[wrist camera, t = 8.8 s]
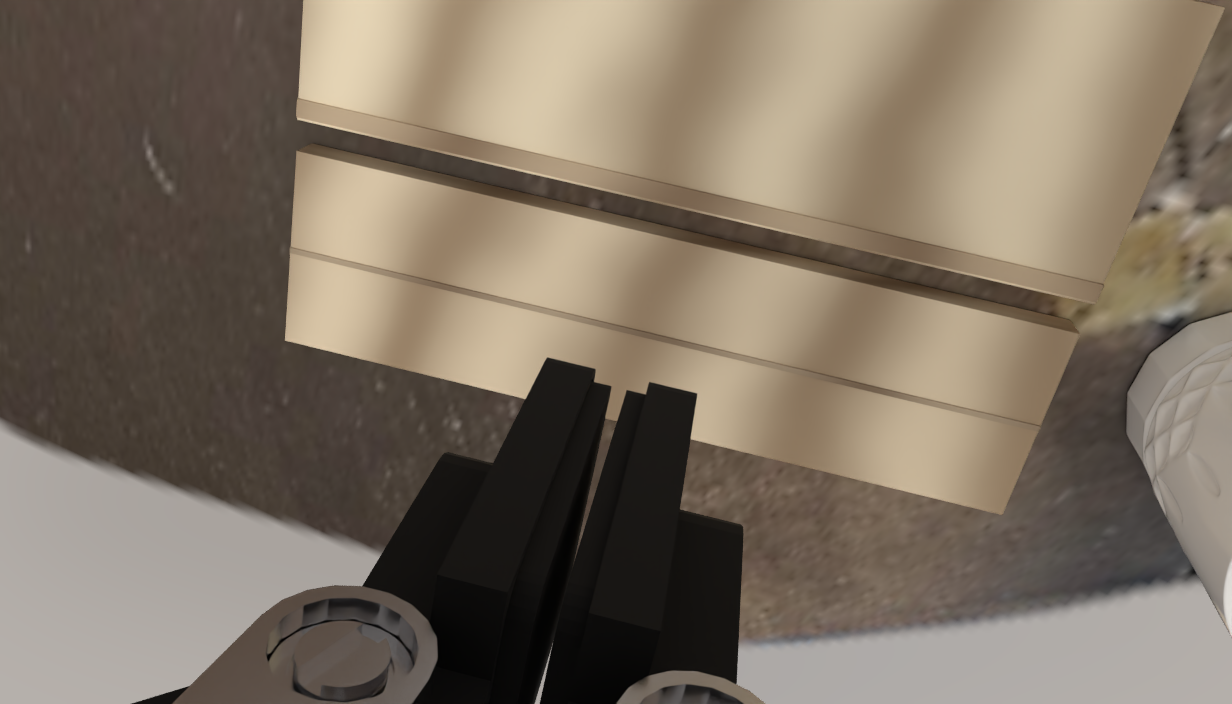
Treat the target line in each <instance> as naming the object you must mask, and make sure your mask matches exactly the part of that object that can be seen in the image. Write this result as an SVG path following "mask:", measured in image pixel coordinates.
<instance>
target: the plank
mask: <svg viewBox="0 0 1232 704" xmlns="http://www.w3.org/2000/svg"><path fill="white" fill-rule="evenodd" d="M1224 9H1225V7H1221V6H1217V5H1214V4H1210V3H1206V2H1201V1H1197V0H304V1H303V20H302V39H301V59H300V78H299V98H298V99H297V111H296V117H297V120H302V121H306V122H310V123H315V124H319V125H323V126H327V127H332V128H336V129H340V130H345V131H349V132H353V133H358V134H362V135H366V136H371V137H375V138H379V139H383V140H388V141H392V142H396V143H401V144H405V145H409V146H414V147H418V148H422V149H427V150H431V151H435V152H439V153H444V154H448V155H452V156H457V157H461V158H465V159H470V160H474V161H478V162H483V163H487V164H491V165H496V166H500V167H504V168H508V169H513V170H517V171H521V172H526V173H530V174H534V175H539V176H543V177H547V178H552V179H556V180H560V181H564V182H569V183H573V184H577V185H582V186H586V187H590V188H595V189H599V190H603V191H608V192H612V193H616V194H620V195H625V196H629V197H633V198H638V199H642V200H646V201H651V202H655V203H659V204H664V205H668V206H672V207H676V208H681V209H685V210H689V211H694V212H698V213H702V214H707V215H711V216H715V217H720V218H724V219H728V220H733V221H737V222H741V223H745V224H750V225H754V226H758V227H763V228H767V229H771V230H776V231H780V232H784V233H789V234H793V235H797V236H801V237H806V238H810V239H814V240H819V241H823V242H827V243H832V244H836V245H840V246H845V247H849V248H853V249H857V250H862V251H866V252H870V253H875V254H879V255H883V256H888V257H892V258H896V259H901V260H905V261H909V262H914V263H918V264H922V265H926V266H931V267H935V268H939V269H944V270H948V271H952V272H957V273H961V274H965V275H970V276H974V277H978V278H982V279H987V280H991V281H995V282H1000V283H1004V284H1008V285H1013V286H1017V287H1021V288H1026V289H1030V290H1034V291H1038V292H1043V293H1047V294H1051V295H1056V296H1060V297H1064V298H1069V299H1073V300H1077V301H1082V302H1086V303H1090V304H1095V303H1097V300H1098V298H1099V296H1100V293H1101V291H1102V289H1103V287H1104V284H1103V283H1104V281H1105V279H1106V277H1107V274H1108V272H1109V270H1110V268H1111V265H1112V263H1113V261H1114V258H1115V256H1116V254H1117V252H1118V249H1119V247H1120V245H1121V243H1122V240H1123V238H1124V236H1125V234H1126V231H1127V229H1128V227H1129V225H1130V222H1131V220H1132V218H1133V215H1134V213H1135V211H1136V209H1137V206H1138V204H1139V202H1140V200H1141V197H1142V195H1143V193H1144V191H1145V188H1146V186H1147V184H1148V181H1149V179H1150V177H1151V175H1152V172H1153V170H1154V168H1155V166H1156V163H1157V161H1158V159H1159V157H1160V154H1161V152H1162V150H1163V147H1164V145H1165V143H1166V141H1167V138H1168V136H1169V134H1170V132H1171V129H1172V127H1173V125H1174V123H1175V120H1176V118H1177V116H1178V113H1179V111H1180V109H1181V107H1182V104H1183V102H1184V100H1185V98H1186V95H1187V93H1188V91H1189V89H1190V86H1191V84H1192V82H1193V79H1194V77H1195V75H1196V73H1197V70H1198V68H1199V66H1200V64H1201V61H1202V59H1203V57H1204V55H1205V52H1206V50H1207V48H1208V45H1209V43H1210V41H1211V39H1212V36H1213V34H1214V32H1215V30H1216V27H1217V25H1218V23H1219V21H1220V18H1221V16H1222V14H1223V11H1224Z"/></svg>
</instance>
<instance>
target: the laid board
mask: <svg viewBox="0 0 1232 704" xmlns="http://www.w3.org/2000/svg"><path fill="white" fill-rule="evenodd" d="M1079 335H1080V333H1079V332H1078V330H1077V329H1076V328H1075V326H1074V325H1073V324H1072V322H1071V321H1070V320H1067V319H1063V318H1059V317H1055V316H1050V315H1046V314H1042V313H1037V312H1033V311H1029V310H1024V309H1020V308H1016V307H1012V306H1007V305H1003V304H999V303H994V302H990V301H986V300H982V299H977V298H973V297H969V296H964V295H960V294H956V293H952V292H947V291H943V290H939V289H934V288H930V287H926V286H922V285H917V284H913V283H909V282H904V281H900V280H896V279H891V278H887V277H883V276H879V275H874V274H870V273H866V272H861V271H857V270H853V269H849V268H844V267H840V266H836V265H831V264H827V263H823V262H819V261H814V260H810V259H806V258H801V257H797V256H793V255H789V254H784V253H780V252H776V251H771V250H767V249H763V248H759V247H754V246H750V245H746V244H741V243H737V242H733V241H728V240H724V239H720V238H716V237H711V236H707V235H703V234H698V233H694V232H690V231H686V230H681V229H677V228H673V227H668V226H664V225H660V224H656V223H651V222H647V221H643V220H638V219H634V218H630V217H626V216H621V215H617V214H613V213H608V212H604V211H600V210H595V209H591V208H587V207H583V206H578V205H574V204H570V203H565V202H561V201H557V200H553V199H548V198H544V197H540V196H535V195H531V194H527V193H523V192H518V191H514V190H510V189H505V188H501V187H497V186H493V185H488V184H484V183H480V182H475V181H471V180H467V179H462V178H458V177H454V176H450V175H445V174H441V173H437V172H432V171H428V170H424V169H420V168H415V167H411V166H407V165H402V164H398V163H394V162H390V161H385V160H381V159H377V158H372V157H368V156H364V155H360V154H355V153H351V152H347V151H342V150H338V149H334V148H329V147H325V146H321V145H317V144H310V145H308V146H306V147H304V148H302V149H300V150H298V151H297V155H296V171H295V187H294V204H293V220H292V236H291V247H290V269H289V285H288V301H287V318H286V334H285V341H289V342H294V343H298V344H302V345H306V346H310V347H314V348H318V349H322V350H326V351H331V352H335V353H339V354H343V355H347V356H351V357H355V358H359V359H363V360H368V361H372V362H376V363H380V364H384V365H388V366H392V367H396V368H400V369H405V370H409V371H413V372H417V373H421V374H425V375H429V376H433V377H437V378H442V379H446V380H450V381H454V382H458V383H462V384H466V385H470V386H474V387H478V388H483V389H487V390H491V391H495V392H499V393H503V394H507V395H511V396H515V397H520V398H524V399H526V397H527V395H528V393H529V391H530V389H531V387H532V385H533V384H534V382H535V380H536V378H537V376H538V374H539V372H540V370H541V368H542V366H543V364H544V362H545V360H546V358H547V357H548V358H552V359H557V360H561V361H565V362H569V363H573V364H577V365H582V366H586V367H590V368H594V369H596V373H595V380H594V382H596V383H600V384H605V385H609V386H611V393H610V398H609V403H608V407H607V412H606V417H605V418H606V419H610V420H614V421H617V420H618V417H619V414H620V411H621V407H622V404H623V401H624V397H625V394H626V391H627V390H629V391H634V392H638V393H642V394H646V392H647V388H648V384H649V382H652V383H656V384H660V385H665V386H669V387H673V388H677V389H681V390H685V391H689V392H694V393H697V400H696V406H695V413H694V419H693V426H692V432H691V439H692V440H696V441H700V442H705V443H709V444H713V445H717V446H721V447H725V448H729V449H733V450H737V451H742V452H746V453H750V454H754V455H758V456H762V457H766V458H770V459H774V460H779V461H783V462H787V463H791V464H795V465H799V466H803V467H807V468H811V469H816V470H820V471H824V472H828V473H832V474H836V475H840V476H844V477H848V478H853V479H857V480H861V481H865V482H869V483H873V484H877V485H881V486H885V487H889V488H894V489H898V490H902V491H906V492H910V493H914V494H918V495H922V496H926V497H931V498H935V499H939V500H943V501H947V502H951V503H955V504H959V505H963V506H968V507H972V508H976V509H980V510H984V511H988V512H992V513H996V514H1000V515H1003V512H1004V510H1005V508H1006V505H1007V503H1008V501H1009V498H1010V496H1011V494H1012V491H1013V489H1014V487H1015V484H1016V482H1017V480H1018V477H1019V475H1020V473H1021V470H1022V468H1023V466H1024V463H1025V461H1026V459H1027V456H1028V454H1029V452H1030V449H1031V447H1032V445H1033V442H1034V440H1035V438H1036V435H1037V433H1038V432H1039V431H1040V428H1041V424H1042V421H1043V419H1044V417H1045V415H1046V412H1047V410H1048V408H1049V405H1050V403H1051V401H1052V398H1053V396H1054V394H1055V391H1056V389H1057V387H1058V384H1059V382H1060V380H1061V377H1062V375H1063V373H1064V370H1065V368H1066V366H1067V363H1068V361H1069V359H1070V356H1071V354H1072V352H1073V349H1074V347H1075V345H1076V342H1077V340H1078V338H1079Z"/></svg>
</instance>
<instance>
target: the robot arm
mask: <svg viewBox="0 0 1232 704" xmlns="http://www.w3.org/2000/svg"><path fill="white" fill-rule="evenodd" d="M595 373H596V369H594V368H590V367H586V366H582V365H577V364H573V363H569V362H565V361H561V360H557V359H552V358H548V357H547V358H546V360H545V362H544V364H543V366H542V368H541V370H540V372H539V374H538V376H537V378H536V380H535V382H534V384H533V385H532V387H531V389H530V391H529V393H528V395H527V397H526V399H525V401H524V403H523V405H522V407H521V409H520V411H519V413H518V415H517V417H516V419H515V421H514V423H513V425H512V427H511V429H510V431H509V433H508V435H507V437H506V439H505V441H504V443H503V445H502V447H501V449H500V451H499V453H498V455H497V457H496V459H495V461H494V463H489V462H485V461H481V460H477V459H473V458H469V457H465V456H461V455H457V454H453V453H449V452H447V453H444V454H443V455H442V457H441V458H440V459H439V461H438V462H437V464H436V466H435V467H434V469H433V470H432V472H431V474H430V475H429V477H428V479H427V480H426V482H425V484H424V485H423V487H422V489H421V490H420V492H419V494H418V495H417V497H416V499H415V500H414V502H413V503H412V505H411V507H410V508H409V510H408V512H407V513H406V515H405V517H404V518H403V520H402V522H401V523H400V525H399V527H398V528H397V530H396V531H395V533H394V535H393V536H392V538H391V540H390V541H389V543H388V545H387V546H386V548H385V550H384V551H383V553H382V555H381V556H380V558H379V560H378V561H377V563H376V564H375V566H374V568H373V569H372V571H371V573H370V575H369V576H368V578H367V579H366V581H365V583H364V584H363V586H362V587H361V586H336V585H335V586H328V587H322V588H316V589H311V590H306V591H304V592H301V593H299V594H296V595H294V596H291V597H288V598H286V599H283V600H281V601H280V602H279V603H277V604H276V605H275V606H273V607H272V608H270V609H269V610H268V611H266V612H265V613H264V614H262V615H261V616H260V617H259V618H258V619H257V620H256V621H255V622H254V623H253V624H252V625H251V626H250V627H249V628H248V629H247V630H246V631H245V632H244V633H243V634H242V635H241V636H240V637H239V638H238V639H237V640H236V641H235V642H234V643H233V644H232V645H231V646H230V647H229V648H228V649H227V650H226V651H225V652H224V653H223V654H222V655H221V656H220V657H219V658H218V659H217V660H216V661H215V662H214V663H213V664H212V665H211V666H210V667H209V668H208V669H207V670H205V672H203V673H202V674H201V675H200V676H199V677H198V678H197V679H196V680H195V682H193V684H191V685H190V686H188V687H185V688H182V689H179V690H175V691H172V692H169V693H165V694H162V695H159V696H155V697H153V698H149V699H146V700H142V701H139V702H136V703H132V704H534V703H535V700H536V697H537V694H538V690H539V687H540V684H541V680H542V677H543V674H544V670H545V667H546V663H547V660H548V657H549V654H550V650H551V647H552V650H551V654H550V660H549V664H548V668H547V673H546V678H545V682H544V687H543V692H542V696H541V701H540V704H765V703H764V702H763V701H761V700H760V699H759V698H757V697H756V696H755V695H754V694H753V693H751V692H750V691H748V690H746V689H744V688H742V687H740V686H738V685H736V683H737V662H738V640H739V618H740V597H741V575H742V553H743V526H742V525H740V524H736V523H732V522H728V521H724V520H720V519H716V518H712V517H708V516H704V515H700V514H696V513H692V512H688V511H684V510H680V504H681V497H682V491H683V484H684V478H685V471H686V465H687V458H688V452H689V445H690V439H691V432H692V426H693V419H694V413H695V406H696V400H697V393H694V392H689V391H685V390H681V389H677V388H673V387H669V386H665V385H660V384H656V383H652V382H649V384H648V388H647V392H646V394H642V393H638V392H634V391H629V390H627V391H626V394H625V397H624V401H623V404H622V407H621V411H620V414H619V417H618V420H617V424H616V427H615V430H614V434H613V437H612V440H611V443H610V447H609V450H608V453H607V457H606V460H605V463H604V467H603V470H602V473H601V476H600V480H599V483H598V486H597V490H596V493H595V496H594V500H593V503H592V506H591V509H590V513H589V516H588V519H587V523H586V526H585V529H584V532H583V536H582V539H581V542H580V546H579V549H578V552H577V556H576V559H575V554H576V550H577V545H578V540H579V536H580V531H581V527H582V522H583V518H584V513H585V508H586V504H587V499H588V495H589V490H590V485H591V481H592V476H593V472H594V467H595V462H596V458H597V453H598V449H599V444H600V440H601V435H602V430H603V426H604V421H605V417H606V412H607V407H608V403H609V398H610V393H611V386H609V385H605V384H600V383H596V382H594V380H595ZM574 559H575V562H574ZM573 563H574V565H573ZM572 568H573V569H572ZM553 640H554V641H553ZM552 644H553V645H552Z"/></svg>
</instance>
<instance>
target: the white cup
mask: <svg viewBox="0 0 1232 704" xmlns="http://www.w3.org/2000/svg"><path fill="white" fill-rule="evenodd" d="M1126 434H1127V436H1128V438H1129V440H1130V441H1131V443H1132V445H1133V446H1134V448H1135V450H1136V452H1137V453H1138V455H1139V457H1140V458H1141V460H1142V462H1143V464H1144V466H1145V468H1146V470H1147V473H1148V475H1149V477H1150V480H1151V484H1152V489H1153V492H1154V494H1155V496H1156V497H1157V499H1158V501H1159V503H1160V505H1161V508H1162V510H1163V512H1164V514H1165V516H1166V518H1167V520H1168V522H1169V523H1170V525H1171V526H1172V528H1173V531H1174V533H1175V535H1176V537H1177V540H1178V542H1179V544H1180V546H1181V548H1182V549H1183V551H1184V553H1185V554H1186V556H1187V557H1188V559H1189V561H1190V563H1191V564H1192V566H1193V568H1194V570H1195V571H1196V573H1197V575H1198V577H1199V579H1200V581H1201V582H1202V584H1203V586H1204V588H1205V590H1206V591H1207V593H1208V595H1209V597H1210V599H1211V601H1212V603H1213V605H1214V606H1215V608H1216V610H1217V612H1218V614H1219V615H1220V617H1221V619H1222V621H1223V623H1224V625H1225V626H1226V628H1227V630H1228V632H1229V634H1230V635H1231V637H1232V312H1229V313H1226V314H1222V315H1219V316H1215V317H1212V318H1208V319H1205V320H1201V321H1198V322H1194V323H1191V324H1189V325H1188V326H1186V327H1185V328H1184V329H1182V330H1181V331H1180V332H1178V333H1177V334H1176V335H1174V336H1173V337H1171V338H1170V339H1169V340H1167V341H1166V342H1165V343H1163V344H1162V345H1161V346H1159V347H1158V348H1157V349H1155V350H1154V351H1153V352H1151V353H1150V354H1149V356H1148V357H1147V359H1146V361H1145V363H1144V364H1143V366H1142V368H1141V370H1140V371H1139V373H1138V375H1137V377H1136V378H1135V380H1134V382H1133V384H1132V385H1131V387H1130V389H1129V391H1128V393H1127V421H1126Z"/></svg>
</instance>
